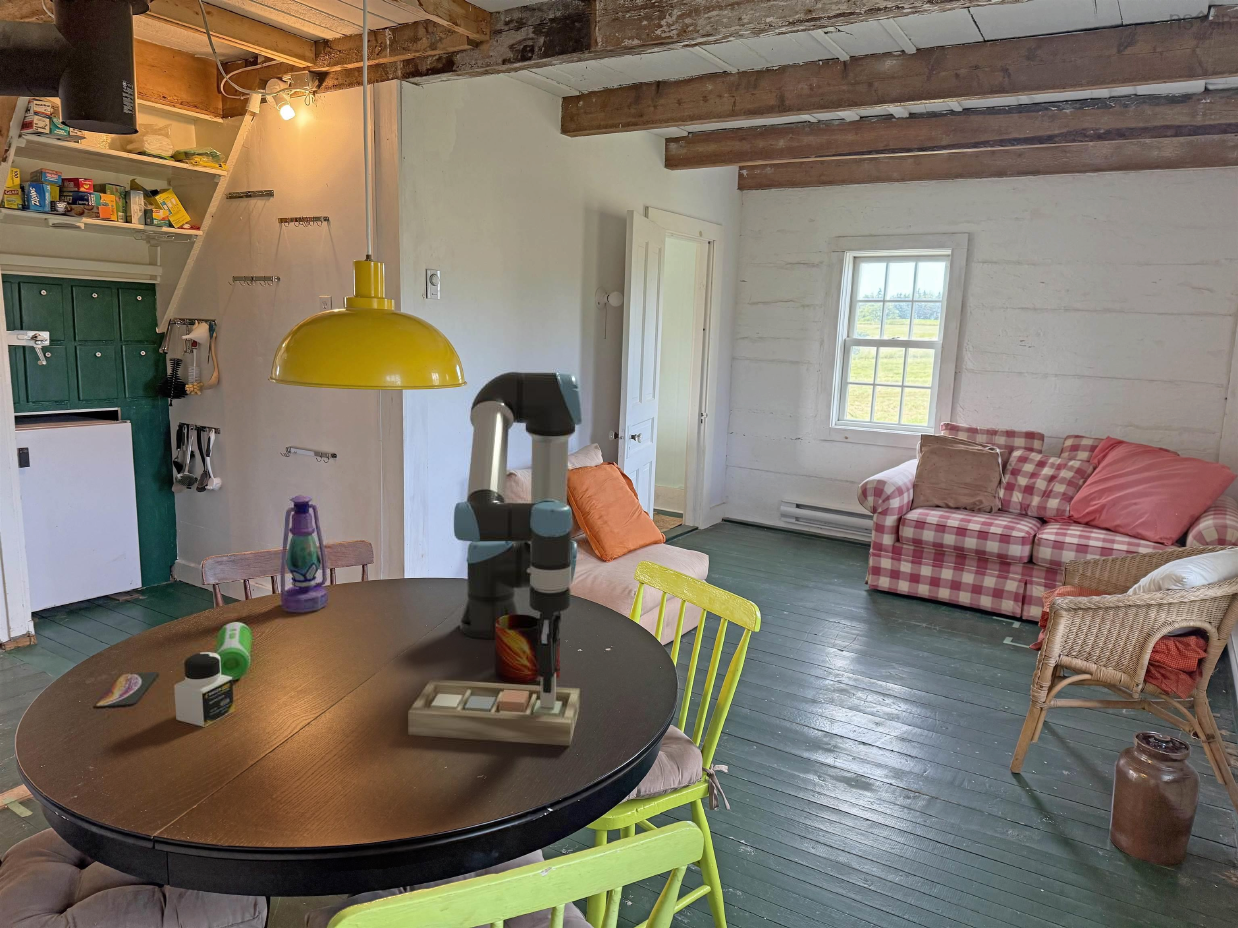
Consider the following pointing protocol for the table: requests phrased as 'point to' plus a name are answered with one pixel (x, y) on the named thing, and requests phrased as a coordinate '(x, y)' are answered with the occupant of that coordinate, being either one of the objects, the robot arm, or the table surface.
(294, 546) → the lantern
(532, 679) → the mug
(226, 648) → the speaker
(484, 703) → the key slate
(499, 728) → the wooden compartment tray
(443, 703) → the key ivory
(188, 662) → the medicine bottle
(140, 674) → the smartphone
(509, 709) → the key terracotta
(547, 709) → the key sage
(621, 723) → the table surface
